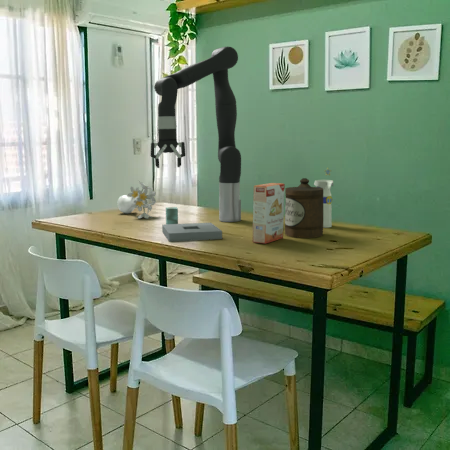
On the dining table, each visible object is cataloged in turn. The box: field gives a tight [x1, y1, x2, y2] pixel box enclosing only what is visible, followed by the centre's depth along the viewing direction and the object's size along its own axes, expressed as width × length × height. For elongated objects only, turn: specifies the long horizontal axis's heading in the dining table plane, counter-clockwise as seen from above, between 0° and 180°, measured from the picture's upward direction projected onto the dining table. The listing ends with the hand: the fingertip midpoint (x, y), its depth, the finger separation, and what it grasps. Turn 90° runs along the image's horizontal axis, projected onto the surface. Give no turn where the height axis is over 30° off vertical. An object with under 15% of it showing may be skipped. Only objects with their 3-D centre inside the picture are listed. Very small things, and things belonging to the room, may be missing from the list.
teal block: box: [165, 206, 179, 224], centre depth 231 cm, size 4×4×8 cm
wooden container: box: [284, 177, 324, 239], centre depth 215 cm, size 15×15×22 cm
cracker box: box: [252, 182, 286, 245], centre depth 204 cm, size 14×6×21 cm, turn 147°
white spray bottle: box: [313, 167, 334, 229], centre depth 234 cm, size 8×9×25 cm
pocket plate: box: [161, 222, 223, 242], centre depth 215 cm, size 20×20×3 cm
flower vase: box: [116, 180, 157, 219], centre depth 266 cm, size 13×18×25 cm
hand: (168, 167), depth 231 cm, fingers open, 8 cm apart
